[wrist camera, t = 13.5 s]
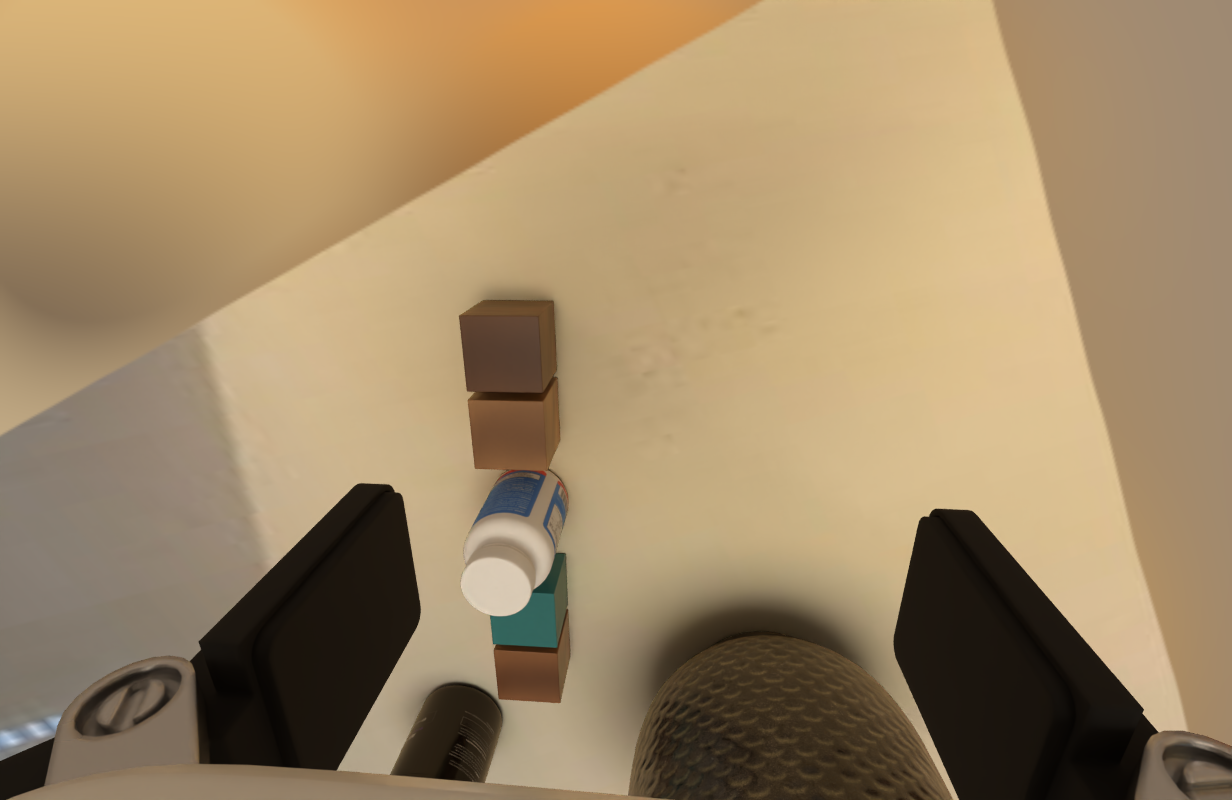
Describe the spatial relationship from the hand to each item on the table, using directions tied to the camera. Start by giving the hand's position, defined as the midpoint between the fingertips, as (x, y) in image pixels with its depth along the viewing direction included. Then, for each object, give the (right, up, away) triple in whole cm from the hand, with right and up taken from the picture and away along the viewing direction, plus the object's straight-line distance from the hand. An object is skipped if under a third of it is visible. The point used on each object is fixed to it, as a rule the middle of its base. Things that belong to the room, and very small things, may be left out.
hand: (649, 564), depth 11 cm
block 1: (-7, +7, +27) cm, 28 cm away
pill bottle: (-6, -4, +31) cm, 32 cm away
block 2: (-7, +2, +28) cm, 29 cm away
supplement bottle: (-13, -23, +39) cm, 47 cm away
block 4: (-6, -15, +35) cm, 38 cm away
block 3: (-7, -10, +33) cm, 35 cm away
